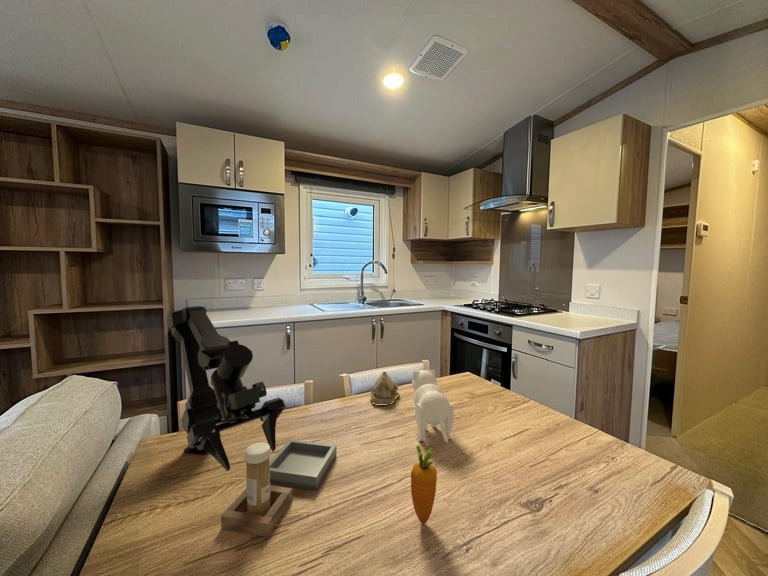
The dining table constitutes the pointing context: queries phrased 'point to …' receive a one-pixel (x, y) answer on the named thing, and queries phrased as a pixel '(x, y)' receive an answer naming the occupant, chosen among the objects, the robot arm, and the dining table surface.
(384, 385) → the ceramic model
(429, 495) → the carrot
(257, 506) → the sprinkles bottle
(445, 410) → the cat figurine
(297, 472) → the tray
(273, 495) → the holder collar
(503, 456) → the dining table surface
